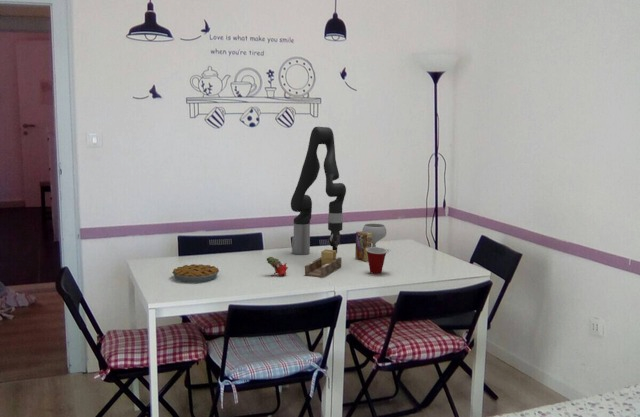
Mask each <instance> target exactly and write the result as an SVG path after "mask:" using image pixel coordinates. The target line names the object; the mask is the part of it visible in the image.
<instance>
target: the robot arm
mask: <svg viewBox="0 0 640 417" xmlns="http://www.w3.org/2000/svg"><path fill="white" fill-rule="evenodd" d="M320 145H325V148H326V155H325V157H324V161H323V170H324V174H325V193H326V195H327V196H328V197H330V198H335V197H336V198H335V199H334V200H332V201H330V202H329V204H328V214H327V215H328V216H327V220H328V221H327V222H328V223H327V230H328V231H330V235H329V236H330V237H328V242H329V245H330V247H332V249H331V250H336V255H337V254H338V246H339V245H340V242H341V240H342V239H341V238H342V234H341V233H340V232H341V231H343V224H344V223H343V216H344V215H343V204H344V201H345V197H346V193H347V186H346V185H345V184H344V183H343V182H337V183H336V182H335V183H334V181H337V180H339V178H340V173H339V169H338V166H337V165H338V164H337V160H336V148H335V147H336V146H335V145H336V144H335V136H334V132H333V129H332V128H331V127H330V126H329V127H328V126H315V127H313V128H312V130H311V132H310V136H309V142H308V145H307V146H308V147H307V150H306V155H305V157H304V162H303V164H302V168H301V172H300V174H299V178H298V181H297V185H296V187H295V190H294V192H293V195H292V196H291V199H290V208H291V211H293V212H294V213H295V212H296V213H299V214H298V215H297V216H296V217H294V218H293V236H292V237H291V253H292V254H295V255H298V256H300V255H303V256H305V255H309V254H310V250H311V249H310V248H311V246H310V245H311V241H310V240H311V219H312V212H313V211H312V210H313V201H312V198H311V196H310V195H308V194H306V193H307V191H308V189H310V187H311V186H312V185H313V184H314V182H316V180H317V179H318V176H319V172H320V169H321V163H320V160H319V158H318V147H319V146H320Z"/></svg>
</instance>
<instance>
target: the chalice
mask: <svg viewBox="0 0 640 417" xmlns="http://www.w3.org/2000/svg"><path fill="white" fill-rule="evenodd" d="M361 231H363V232H367V233H372V247H377V246H376V245H377V243H378V242H379V241H381V240H383V239H384V238H385V237H386V236H387V228H386V226H385V225H384V224H382V223H366V224H364V225H363V227H362V230H361Z"/></svg>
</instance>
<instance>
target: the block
mask: <svg viewBox="0 0 640 417" xmlns="http://www.w3.org/2000/svg"><path fill="white" fill-rule="evenodd" d="M320 256H321V267H322V266H323V265H325V264H328V263H330V262H331V261H333V260H335V259H337V254H336V250H332V249H324V250H322V251H321V253H320Z"/></svg>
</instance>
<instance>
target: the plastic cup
mask: <svg viewBox="0 0 640 417" xmlns="http://www.w3.org/2000/svg"><path fill="white" fill-rule="evenodd" d="M366 251H367V255H368V261H367V262H368V266H369V267H368V268H369V272H370V274H375V275H377V274H379V275H380V274H382V271H383V267H384V263H385V258H386V255H387V254H388V250H387V249H386V248H385V247H378V246H376V247H370V248H367V249H366Z"/></svg>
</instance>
